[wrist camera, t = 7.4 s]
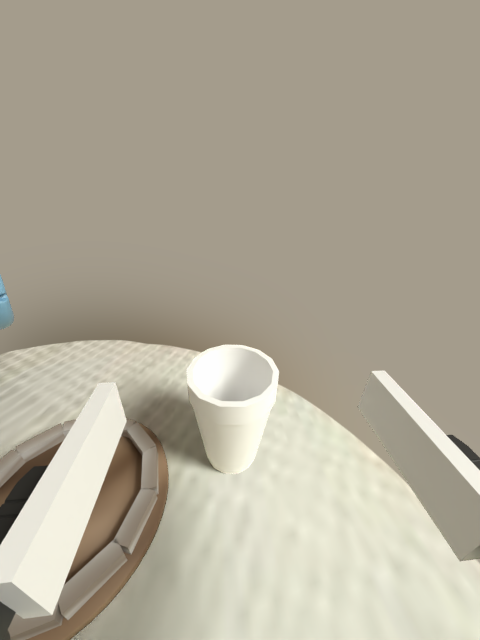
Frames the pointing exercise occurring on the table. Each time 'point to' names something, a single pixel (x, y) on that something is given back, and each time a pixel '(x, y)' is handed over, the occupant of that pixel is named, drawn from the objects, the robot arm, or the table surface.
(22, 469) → the plate
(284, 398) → the table surface
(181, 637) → the table surface
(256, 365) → the foam cup
